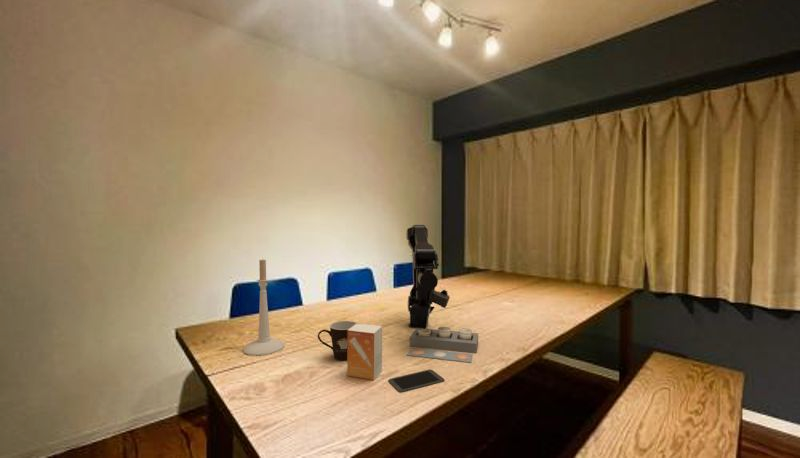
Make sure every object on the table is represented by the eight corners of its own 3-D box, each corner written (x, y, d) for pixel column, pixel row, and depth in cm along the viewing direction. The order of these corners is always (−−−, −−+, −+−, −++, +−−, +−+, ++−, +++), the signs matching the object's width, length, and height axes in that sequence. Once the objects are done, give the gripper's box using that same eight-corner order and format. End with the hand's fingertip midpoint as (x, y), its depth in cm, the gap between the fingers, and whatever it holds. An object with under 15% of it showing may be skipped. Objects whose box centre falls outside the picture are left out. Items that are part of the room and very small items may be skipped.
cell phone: (446, 382, 93) (446, 379, 93) (399, 394, 87) (399, 391, 87) (431, 371, 100) (431, 368, 100) (387, 382, 94) (387, 379, 94)
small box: (347, 376, 96) (346, 329, 95) (356, 366, 102) (356, 322, 101) (374, 380, 93) (374, 332, 93) (382, 370, 100) (382, 325, 99)
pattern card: (406, 355, 110) (406, 354, 110) (411, 348, 116) (411, 347, 116) (471, 362, 104) (471, 361, 104) (472, 355, 110) (472, 353, 110)
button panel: (409, 345, 118) (409, 337, 118) (416, 335, 128) (416, 327, 127) (476, 353, 112) (476, 343, 112) (478, 341, 121) (478, 333, 121)
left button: (416, 341, 120) (416, 332, 120) (419, 337, 124) (419, 328, 124) (429, 343, 119) (429, 333, 119) (431, 338, 123) (431, 329, 123)
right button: (457, 341, 116) (457, 332, 116) (459, 337, 120) (459, 327, 120) (471, 343, 115) (471, 333, 115) (472, 338, 119) (472, 329, 119)
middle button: (437, 339, 118) (437, 330, 118) (439, 335, 122) (439, 326, 122) (450, 341, 117) (450, 331, 117) (451, 336, 121) (451, 327, 121)
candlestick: (236, 348, 116) (234, 258, 114) (273, 338, 125) (271, 255, 124) (253, 359, 107) (251, 262, 106) (291, 347, 116) (290, 258, 115)
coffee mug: (362, 353, 112) (362, 322, 111) (350, 364, 104) (350, 331, 103) (330, 348, 116) (330, 318, 115) (316, 359, 107) (315, 326, 107)
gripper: (443, 291, 109) (443, 340, 110) (451, 280, 127) (451, 322, 128) (409, 289, 112) (409, 336, 113) (421, 278, 130) (421, 320, 131)
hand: (424, 328), depth 121 cm, fingers closed
